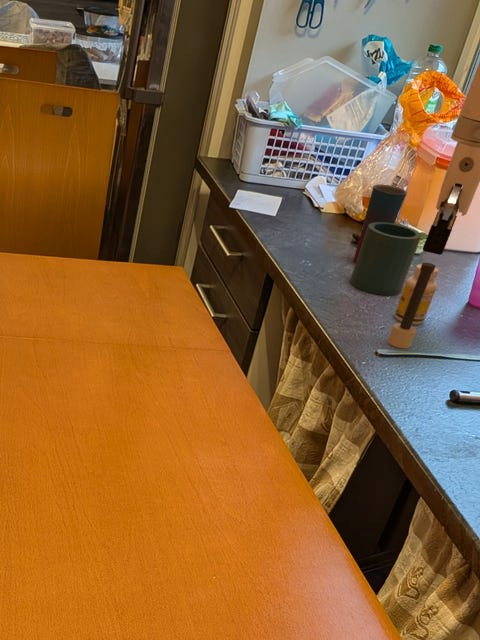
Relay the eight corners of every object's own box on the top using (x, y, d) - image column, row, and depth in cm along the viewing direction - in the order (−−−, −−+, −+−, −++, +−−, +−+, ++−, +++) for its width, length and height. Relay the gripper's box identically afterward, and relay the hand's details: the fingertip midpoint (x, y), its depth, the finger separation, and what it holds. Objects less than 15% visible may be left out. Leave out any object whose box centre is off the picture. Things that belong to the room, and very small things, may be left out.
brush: (400, 338, 169) (430, 260, 160) (414, 347, 166) (446, 268, 157) (382, 339, 168) (412, 260, 159) (396, 349, 165) (427, 269, 156)
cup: (350, 265, 199) (374, 190, 190) (348, 255, 205) (372, 182, 195) (382, 270, 199) (408, 196, 189) (379, 260, 204) (405, 187, 194)
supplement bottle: (397, 311, 180) (416, 260, 173) (425, 319, 178) (445, 267, 172) (390, 319, 176) (410, 267, 170) (419, 327, 174) (440, 275, 168)
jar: (380, 276, 196) (399, 221, 188) (411, 294, 188) (432, 238, 181) (340, 277, 192) (358, 222, 185) (369, 296, 185) (389, 239, 178)
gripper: (501, 146, 138) (453, 263, 149) (506, 128, 150) (461, 238, 161) (449, 136, 140) (406, 252, 151) (458, 119, 152) (417, 228, 163)
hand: (434, 245), depth 156 cm, fingers open, 9 cm apart
